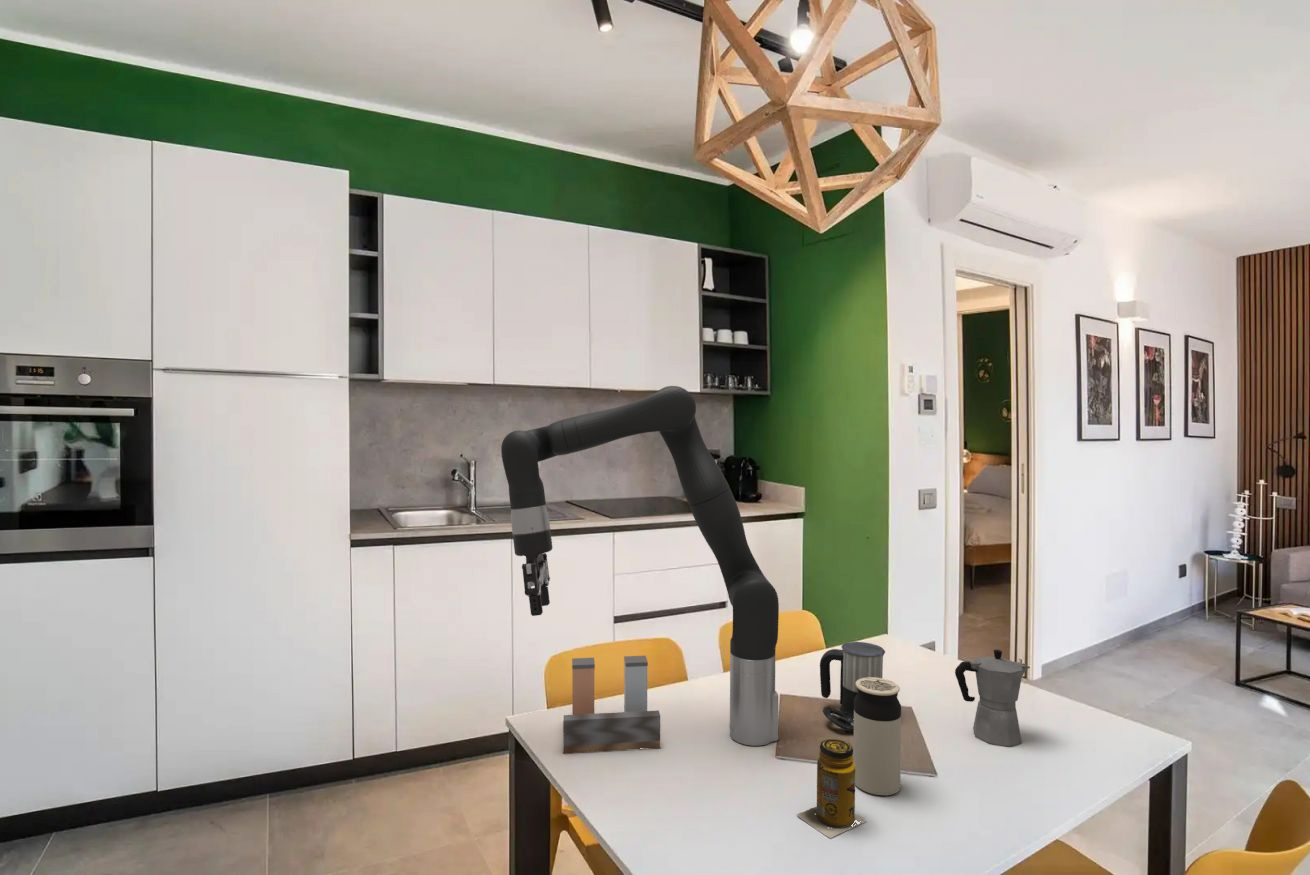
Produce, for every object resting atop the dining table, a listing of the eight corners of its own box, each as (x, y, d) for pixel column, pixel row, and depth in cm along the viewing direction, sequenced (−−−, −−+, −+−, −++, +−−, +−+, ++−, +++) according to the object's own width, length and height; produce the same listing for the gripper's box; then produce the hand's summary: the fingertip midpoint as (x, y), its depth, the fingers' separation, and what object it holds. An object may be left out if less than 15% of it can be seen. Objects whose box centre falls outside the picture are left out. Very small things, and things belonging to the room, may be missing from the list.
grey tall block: (645, 714, 145) (645, 655, 145) (647, 723, 141) (647, 662, 141) (623, 715, 144) (624, 656, 144) (625, 724, 140) (625, 663, 140)
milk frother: (878, 706, 154) (879, 641, 154) (896, 738, 139) (897, 666, 138) (815, 703, 156) (815, 639, 155) (825, 735, 140) (826, 663, 140)
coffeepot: (1015, 726, 144) (1016, 642, 144) (1041, 747, 135) (1043, 657, 135) (944, 727, 144) (945, 642, 143) (966, 748, 134) (967, 658, 134)
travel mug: (894, 802, 115) (895, 697, 115) (847, 788, 119) (848, 687, 119) (904, 781, 122) (905, 682, 121) (860, 769, 126) (860, 673, 126)
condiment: (866, 821, 109) (867, 748, 109) (830, 839, 105) (831, 762, 104) (831, 800, 115) (832, 731, 115) (796, 816, 111) (796, 744, 111)
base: (651, 717, 148) (651, 688, 148) (660, 748, 134) (660, 715, 134) (564, 722, 145) (564, 692, 145) (563, 753, 131) (563, 720, 131)
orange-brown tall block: (593, 717, 144) (594, 657, 143) (594, 725, 140) (594, 664, 139) (572, 718, 143) (572, 658, 143) (572, 727, 139) (572, 665, 139)
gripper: (543, 531, 129) (554, 616, 128) (555, 523, 143) (564, 600, 142) (504, 536, 129) (514, 621, 128) (519, 528, 143) (529, 604, 142)
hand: (540, 610), depth 135 cm, fingers open, 8 cm apart
